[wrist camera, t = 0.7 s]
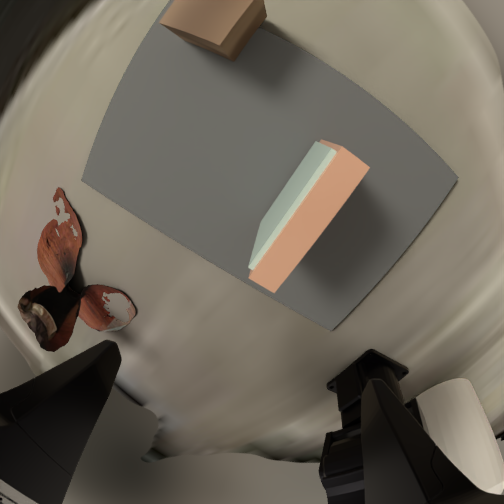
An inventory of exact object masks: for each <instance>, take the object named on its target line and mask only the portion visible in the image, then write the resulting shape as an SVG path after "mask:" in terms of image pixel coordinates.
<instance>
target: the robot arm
mask: <svg viewBox="0 0 504 504" xmlns="http://www.w3.org/2000/svg"><path fill="white" fill-rule="evenodd" d="M370 354H371V355H370ZM121 360H122V359H121V355H120V351H119V348H118V345H117V343H116V342H114V341H111V340H104V341H102V342H101V343H99V344H97V345H95V346H93V347H91V348H89V349H88V350H86V351H84V352H82V353H80V354H78V355H76V356H75V357H73V358H71V359H69V360H67V361H65V362H63V363H61V364H60V365H58V366H56V367H54V368H52V369H50V370H48V371H46V372H45V373H43V374H41V375H39V376H37V377H35V378H33V379H31V380H30V381H27V382H25V383H23V384H22V385H19V386H17V387H15V388H13V389H10V390H8V391H6V392H3V393H1V394H0V504H35V503H38V504H62V502H63V500H64V497H65V494H66V492H67V489H68V487H69V484H70V482H71V479H72V476H73V474H74V472H75V469H76V467H77V465H78V462H79V460H80V457H81V455H82V453H83V451H84V448H85V446H86V444H87V441H88V439H89V437H90V435H91V433H92V430H93V428H94V426H95V424H96V422H97V419H98V417H99V415H100V413H101V411H102V409H103V407H104V405H105V403H106V401H107V399H108V397H109V394H110V392H111V389H112V386H113V383H114V381H115V378H116V375H117V373H118V370H119V367H120V365H121ZM408 372H409V371H408V368H407V367H405V366H403V365H401V364H399V363H397V362H396V361H394V360H392V359H390V358H388V357H386V356H384V355H382V354H381V353H379V352H377V351H375V350H373V349H370V350H367V351H366V352H365V353H364V354H363V355H362V356H360V357H359V358H358V359H357V360H356V361H355V362H353V363H352V364H351V365H350V366H349V367H347V368H346V369H345V370H344V371H342V372H341V373H340V374H339V375H337V376H336V377H335V378H334V379H332V380H331V381H330V382H329V383H327V389H328V390H330V391H332V392H335V393H337V399H338V409H339V411H340V412H341V419H342V428H343V429H341V430H337V431H334V432H328V433H326V437H325V442H324V447H323V452H322V457H321V462H320V467H319V476H320V479H321V482H322V484H323V487H324V488H325V490H326V493H327V498H328V504H504V495H499V494H493V493H488V492H485V491H483V490H481V489H480V488H478V487H477V486H476V485H475V484H473V483H472V482H471V481H470V480H469V479H468V478H467V477H466V476H465V475H464V474H463V473H462V472H461V471H460V470H459V469H458V468H457V467H456V466H455V465H454V464H453V463H452V462H451V461H450V460H449V459H448V458H447V456H446V455H445V454H444V453H443V452H442V451H441V449H440V448H439V447H438V446H437V445H436V443H435V442H434V441H433V440H432V439H431V437H430V434H429V430H428V427H427V423H426V420H425V417H424V415H423V412H422V410H421V408H420V406H419V403H418V401H417V399H416V398H414V399H412V400H410V402H408V403H406V404H405V403H404V399H403V395H402V392H401V389H400V385H399V382H398V381H399V380H401V379H402V378H403V377H404V376H406V375H407V374H408Z"/></svg>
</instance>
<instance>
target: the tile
mask: <svg viewBox="0 0 504 504" xmlns="http://www.w3.org/2000/svg"><path fill="white" fill-rule="evenodd" d="M369 168H370V167H369V166H368V165H366V164H365V163H364V162H362V161H361V160H360V159H359V158H357V157H356V156H355V155H353V154H352V153H351V152H349V151H348V150H347V149H345V148H344V147H343V146H340V145H337V144H334V143H331V142H328V141H325V140H322V139H321V140H320V142H317V141H315V143H314V144H313V146H312V147H311V149H310V150H309V152H308V153H307V155H306V156H305V157H304V159H303V160H302V162H301V163H300V165H299V166H298V168H297V169H296V171H295V172H294V174H293V175H292V176H291V178H290V179H289V181H288V182H287V184H286V185H285V187H284V188H283V190H282V191H281V193H280V194H279V196H278V197H277V199H276V200H275V201H274V203H273V204H272V206H271V207H270V209H269V210H268V212H267V213H266V215H265V216H264V218H263V219H262V221H261V223H260V226H259V230H258V233H257V237H256V241H255V244H254V248H253V251H252V255H251V259H250V262H249V266H248V268H250V269H251V270H250V274H249V279H251V280H252V281H254V282H256V283H257V284H259V285H261V286H263V287H264V288H266V289H268V290H269V291H271V292H273V293H275V292H276V290H277V289H278V288H279V287H280V286H281V284H282V283H283V282H284V281H285V279H286V278H287V277H288V276H289V274H290V273H291V272H292V271H293V269H294V268H295V267H296V266H297V264H298V263H299V262H300V260H301V259H302V258H303V257H304V255H305V254H306V253H307V252H308V250H309V249H310V248H311V246H312V245H313V244H314V243H315V241H316V240H317V239H318V237H319V236H320V235H321V233H322V232H323V231H324V229H325V228H326V227H327V226H328V224H329V223H330V222H331V220H332V219H333V218H334V216H335V215H336V214H337V212H338V211H339V210H340V208H341V207H342V206H343V204H344V203H345V202H346V200H347V199H348V197H349V196H350V195H351V193H352V192H353V191H354V189H355V188H356V186H357V185H358V184H359V182H360V181H361V180H362V178H363V177H364V175H365V174H366V173H367V171H368V170H369Z"/></svg>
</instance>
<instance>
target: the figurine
mask: <svg viewBox="0 0 504 504" xmlns="http://www.w3.org/2000/svg"><path fill="white" fill-rule="evenodd" d="M59 197H61V198H62V199H63V201H64V205H65V213H69V214H70V219H68V221H67V222H66V221H64V223H63V222H62V223H61V224H60V225H59V226H58V222H57V220H55V219H53V220H52V221H50V222H49V223H48V224H47V225H46V226H45V228H44V229H43V231H42V234H41V237H40V240H39V243H38V248H37V254H38V261H39V264H40V267H41V269H42V271H43V272H44V274H45V275H46V276H47V278H48V281H49V284H50V286H45V285H44V286H42V287H40V288H38V289H37V288H35V289H34V290H32V291H28V292H26V293H25V294H24V295H23V296H22V298H21V299H20V300H19V304H18V309H19V311H20V314H21V316H22V319H23V320H24V321H25V322H26V323H27V324H28V326H29V328H30V329H31V330H32V331H33V332H34V333H35V336H36V339H37V341H38V342H39V344H40V347H41V348H43V349H45V350H46V351H52V352H55V351H56V350H58V349H59V348H60V347H62V346H65V345H66V344H67V343H68V342H69V339H70V337H71V335H72V333H73V329H74V325H75V322H76V319H77V317H78V316H79V317H80V318H81V319H82V320H84V322H85V323H86V324H87V325H88V326H89V327H91V328H93V329H96V330H98V331H106V332H108V331H118V330H121V329H122V327H124V326H126V325H127V324H129V323H130V321H128V322H126V323H125V322H121V321H120V320H118V319H116V318H115V317H114V316H112V317H110V316H109V315H108V314H110V312H108V311H106V309H105V308H103V306H104V304H106V303H105V301H103V300H102V296H103V292H105V293H107V294H110V293H121V294H123V293H122V292H120V291H118V290H116V289H114V288H111V287H108V286H104V285H98V284H97V285H88V286H87V287H85V288H84V289H83V290H82V293H81V294H80V293H79V294H78V293H76V292H74V291H73V290H72V289H71V288H70V287H69V285H68V282H69V281H70V280H71V279H72V277H73V276H74V272H75V267H76V261H77V255H78V252H79V247H81V244H82V232H81V228H80V225H79V222H78V220H77V217H76V215H75V213H74V212H73V210H72V208H71V207H70V205H69V203H68V201H67V200H66V198H65V196H64V193H63V191H62V189H60V188H58V189H57V190H56V193H55V195H54V197H53V200H54V202H56V201H58V200H59ZM55 207H56V213H57V215H59V212H60V210H59V208H57V206H55ZM72 224H73V227H74V229H76V231H77V232H78V236H77V237H76V236H74V234H73V231H72V230H73V229H72V228H70V227H71V226H72ZM55 228H56V229H57V230H58V232H59V236H60V237H58V235H57V233H56V230H55ZM74 238H76V240H75V239H74ZM123 295H124V294H123ZM124 296H125V297H126V299H127V300H128V302H129V303H130V306H131V307H130V308H128V309H126V310H127V312H128V313H129V320H132V318H133V317H134V316H135V308H134V306H133V304H132V303H131V301H130V300H129V298H128V297H127V296H126V295H124ZM103 297H104V296H103ZM104 299H105V300H107V301H109V302H110V300H108V299H107V296H106V297H104ZM107 305H108V304H107ZM108 309H109V308H108ZM104 316H106V317H104Z"/></svg>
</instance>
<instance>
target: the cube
mask: <svg viewBox="0 0 504 504" xmlns="http://www.w3.org/2000/svg"><path fill="white" fill-rule="evenodd" d="M266 17H267V14H266V9H265V5H264V0H175V1H174V2H173V3H172V5H171V6H170V7H169V9H168V10H167V12H166V13H165V14H164V16H163V17H162V19H161V20H160V22H159V23H160V24H161V25H163V26H164V27H166V28H167V29H168V30H170V31H171V32H173V33H174V34H176V35H177V36H178V37H180V38H181V39H183V40H184V41H187V42H190V43H192V44H195V45H197V46H200V47H202V48H204V49H207V50H209V51H211V52H214V53H216V54H218V55H220V56H223V57H225V58H227V59H229V60H231V61H233V62H234V61H235V60H236V58H237V57H238V55H239V54H240V53H241V51H242V50H243V48H244V47H245V45H246V44H247V43H248V41H249V40H250V38H251V37H252V36H253V34H254V33H255V32H256V30H257V29H258V28H259V26H260V25H261V24H262V22H263V21H264V20H265V19H266Z"/></svg>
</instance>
